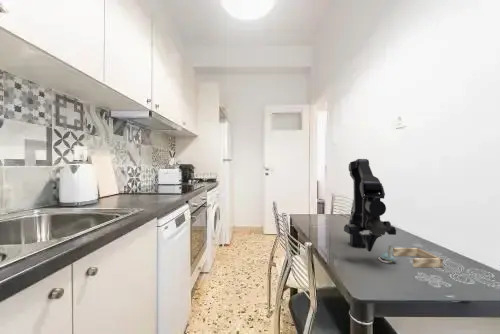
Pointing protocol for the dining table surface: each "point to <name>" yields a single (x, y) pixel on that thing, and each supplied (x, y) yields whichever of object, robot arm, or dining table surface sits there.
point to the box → (425, 259)
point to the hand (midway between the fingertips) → (369, 251)
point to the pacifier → (387, 256)
